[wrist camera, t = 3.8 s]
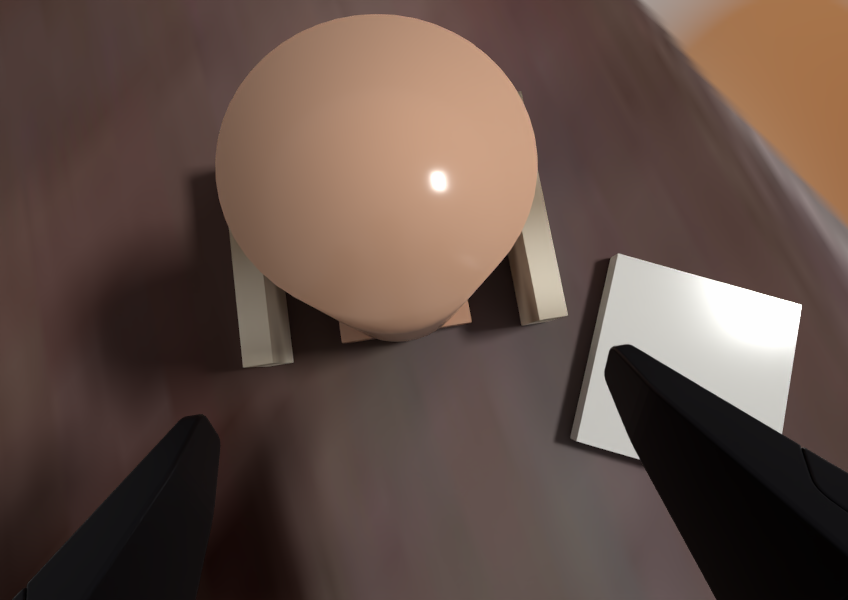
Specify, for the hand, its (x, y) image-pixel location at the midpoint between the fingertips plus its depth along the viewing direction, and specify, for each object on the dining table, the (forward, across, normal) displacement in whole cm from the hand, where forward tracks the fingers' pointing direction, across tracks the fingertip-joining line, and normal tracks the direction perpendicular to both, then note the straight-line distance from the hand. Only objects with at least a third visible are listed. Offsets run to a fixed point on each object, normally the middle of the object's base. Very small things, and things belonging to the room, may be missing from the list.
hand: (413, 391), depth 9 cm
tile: (+6, -13, +9) cm, 17 cm away
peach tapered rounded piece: (+11, 0, +4) cm, 12 cm away
